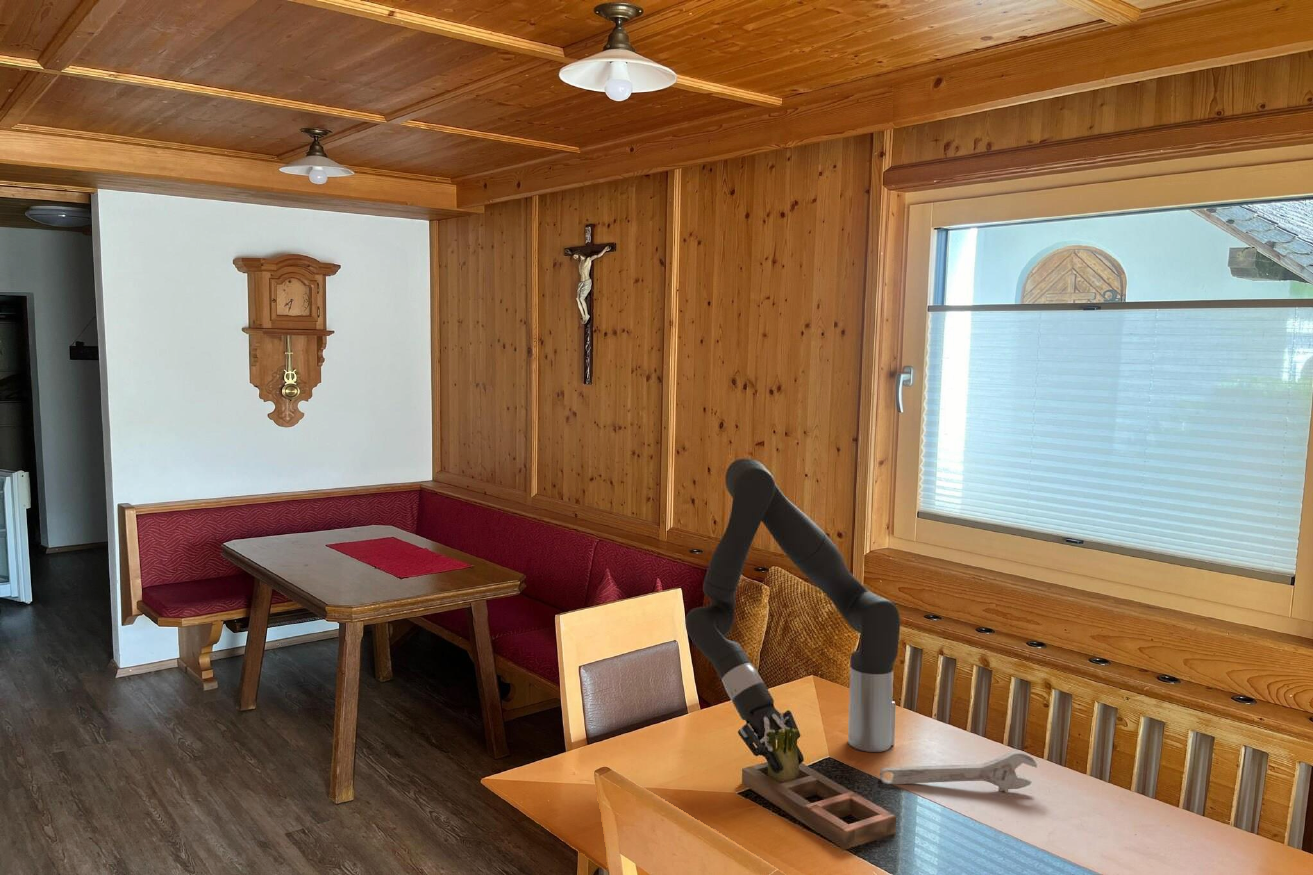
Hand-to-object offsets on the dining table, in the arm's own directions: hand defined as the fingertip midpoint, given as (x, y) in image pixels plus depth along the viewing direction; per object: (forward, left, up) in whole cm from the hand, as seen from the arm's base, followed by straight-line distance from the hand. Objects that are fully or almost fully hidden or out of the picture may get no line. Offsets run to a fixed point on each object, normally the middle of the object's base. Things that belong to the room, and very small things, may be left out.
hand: (790, 766), depth 185 cm
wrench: (-30, +15, -5) cm, 34 cm away
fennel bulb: (0, -2, -5) cm, 5 cm away
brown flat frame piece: (0, +8, -5) cm, 9 cm away
